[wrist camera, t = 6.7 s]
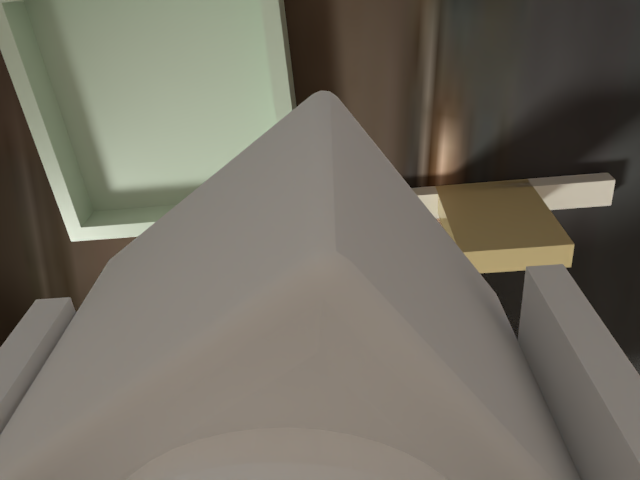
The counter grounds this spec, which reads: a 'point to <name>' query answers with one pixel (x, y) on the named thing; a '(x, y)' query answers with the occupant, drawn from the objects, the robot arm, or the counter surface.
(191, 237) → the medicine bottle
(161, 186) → the tray
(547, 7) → the counter surface
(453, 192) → the fuse holder
